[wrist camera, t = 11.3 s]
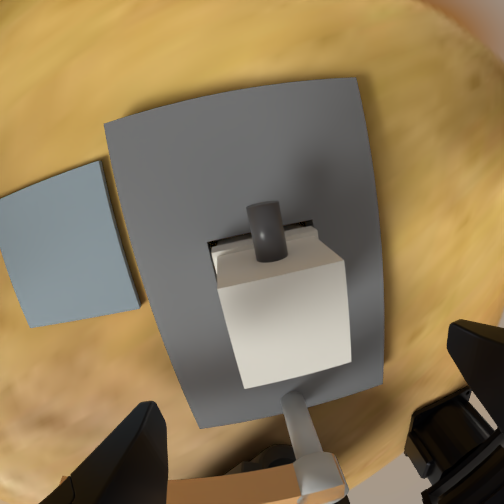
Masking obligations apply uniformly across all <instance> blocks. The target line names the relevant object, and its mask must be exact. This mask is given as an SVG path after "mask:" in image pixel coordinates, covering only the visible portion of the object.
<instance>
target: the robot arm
mask: <svg viewBox="0 0 504 504" xmlns="http://www.w3.org/2000/svg"><path fill="white" fill-rule="evenodd" d="M447 350H448V352H449V354H450V356H451V357H452V359H453V360H454V362H455V364H456V365H457V367H458V369H459V370H460V372H461V374H462V375H463V377H464V379H465V380H466V382H467V384H468V385H469V386H467V387H465V388H463V389H461V390H460V391H458V392H456V393H454V394H452V395H450V396H448V397H446V398H444V399H442V400H440V401H438V402H436V403H433V404H431V405H429V406H427V407H425V408H423V409H420V410H418V411H416V412H415V413H414V414H413V415H412V417H411V423H410V428H409V432H408V435H407V440H406V444H405V449H404V450H405V451H404V454H405V456H408V457H409V458H410V460H411V461H412V463H413V465H414V467H415V468H416V470H417V472H418V473H419V475H420V476H421V478H424V479H425V478H428V479H429V481H430V483H431V484H432V486H431V487H430V488H428V489H426V490H424V491H423V492H421V495H422V498H423V499H422V501H423V504H504V328H501V327H496V326H491V325H486V324H482V323H477V322H472V321H468V320H463V319H459V320H457V321H455V322H452V323H451V324H450V326H449V330H448V338H447ZM471 391H473V392H474V394H475V395H476V396H477V398H478V399H479V401H480V402H481V403H482V404H483V406H484V407H485V409H486V410H487V411H488V413H489V414H490V416H491V417H492V419H493V420H494V422H495V423H496V424H497V426H498V428H497V429H496V430H494V429H493V428H492V427H491V426H490V425H489V424H488V423H487V421H486V420H485V419H484V418H483V417H482V416H481V415H480V414H479V413H478V411H477V410H476V409H475V408H474V407H473V406H472V405H471V404H470V403H469V402H468V401H469V398H470V395H471ZM167 484H168V452H167V427H166V422H165V420H164V418H163V416H162V414H161V412H160V410H159V408H158V406H157V404H156V403H155V402H154V401H145V402H141V403H139V404H138V405H137V406H136V407H135V408H134V409H133V410H132V412H131V413H130V414H129V415H128V416H127V417H126V418H125V419H124V420H123V421H122V422H121V423H120V424H119V425H118V426H117V427H116V428H115V429H114V430H113V431H112V432H111V433H110V434H109V435H108V437H107V438H106V439H105V440H104V441H103V442H102V443H101V444H100V445H99V446H98V447H97V448H96V449H95V450H94V451H93V452H92V453H91V454H90V455H89V456H88V457H87V458H86V459H85V460H84V461H83V462H82V463H81V464H80V465H79V466H78V467H77V468H76V469H75V470H74V471H73V472H72V473H71V475H70V476H68V477H67V478H66V479H65V480H64V481H63V482H62V483H61V484H60V485H59V486H58V487H57V488H56V489H55V490H54V491H53V492H52V493H51V494H50V495H48V496H47V497H46V498H45V499H44V500H42V501H41V502H40V503H39V504H166V500H167Z"/></svg>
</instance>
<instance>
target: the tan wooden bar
mask: <svg viewBox="0 0 504 504" xmlns="http://www.w3.org/2000/svg"><path fill="white" fill-rule="evenodd" d="M66 478H67V476H62V479H61V482H60V484H61V483H62V482H63V481H64V480H65V479H66ZM348 491H349V488H348V485H347V483H346V480H345V478H344V475H343V473H342V470H341V468H340V465H339V463H338V460H337V458H336V456H335V455H334V454H333V453H329V452H316V453H312V454H308V455H305V456H303V457H301V458H299V459H298V460H296V461H295V462H294V463H292V464H287V465H283V466H278V467H273V468H268V469H262V470H257V471H251V472H245V473H238V474H231V475H224V476H215V477H206V478H195V479H181V480H168V484H167V500H166V504H334V503H336V502H338V501H339V500H341V499H342V498H344V497H345V496H346V495H347V493H348Z"/></svg>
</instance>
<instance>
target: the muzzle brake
mask: <svg viewBox="0 0 504 504" xmlns="http://www.w3.org/2000/svg"><path fill="white" fill-rule="evenodd" d="M295 461H296V457H295V453H294V450H293V447H292V446H288V445H273V446H271V447H269V448H267V449H265V450H264V451H263V452H262V453H260V454H259V455H258V456H256V457H255V458H254V459H252V460H251V461H250V462H246V461H243V462H241V463H240V464H239V465H237V466H236V467H234V468H233V469H232V470H230V471H229V472H228V473H226V474H225V475H231V474H238V473H245V472H251V471H257V470H262V469H268V468H273V467H278V466H283V465H287V464H292V463H294V462H295ZM223 476H224V475H223ZM334 504H350V502H349V499H348V496H347V495H346V496H345V497H344V498H342V499H341V500H339V501H338V502H336V503H334Z"/></svg>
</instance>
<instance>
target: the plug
mask: <svg viewBox="0 0 504 504" xmlns="http://www.w3.org/2000/svg"><path fill="white" fill-rule="evenodd" d="M246 210H247V215H248V220H249V225H250V230H251V233H249V234H244V235H240V236H235V237H231V238H226V239H221V240H217V246H214V247H212V252H211V253H212V258H213V262H214V266H215V270H216V274H217V290H218V294H219V298H220V302H221V306H222V310H223V313H224V317H225V321H226V325H227V328H228V332H229V336H230V340H231V343H232V347H233V351H234V354H235V358H236V361H237V365H238V368H239V372H240V375H241V379H242V382H243V386H244V389H247V388H252V387H257V386H261V385H266V384H270V383H275V382H279V381H283V380H287V379H291V378H295V377H299V376H303V375H307V374H311V373H315V372H318V371H322V370H325V369H329V368H332V367H336V366H339V365H343V364H346V363H349V362H351V340H350V323H349V308H348V295H347V283H346V273H345V263H344V260H343V259H342V258H341V257H340V256H338V255H337V254H336V253H335V252H334V251H332V250H331V249H330V248H329V247H327V246H326V245H325V244H324V243H322V242H321V241H320V240H319V238H318V231H317V230H316V229H315V228H314V227H312V226H307V227H302V226H301V225H300V224H298V223H296V224H291V225H287V226H283V222H282V216H281V211H280V205H279V201H265V202H260V203H255V204H252V205H249V206H247V207H246Z"/></svg>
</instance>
